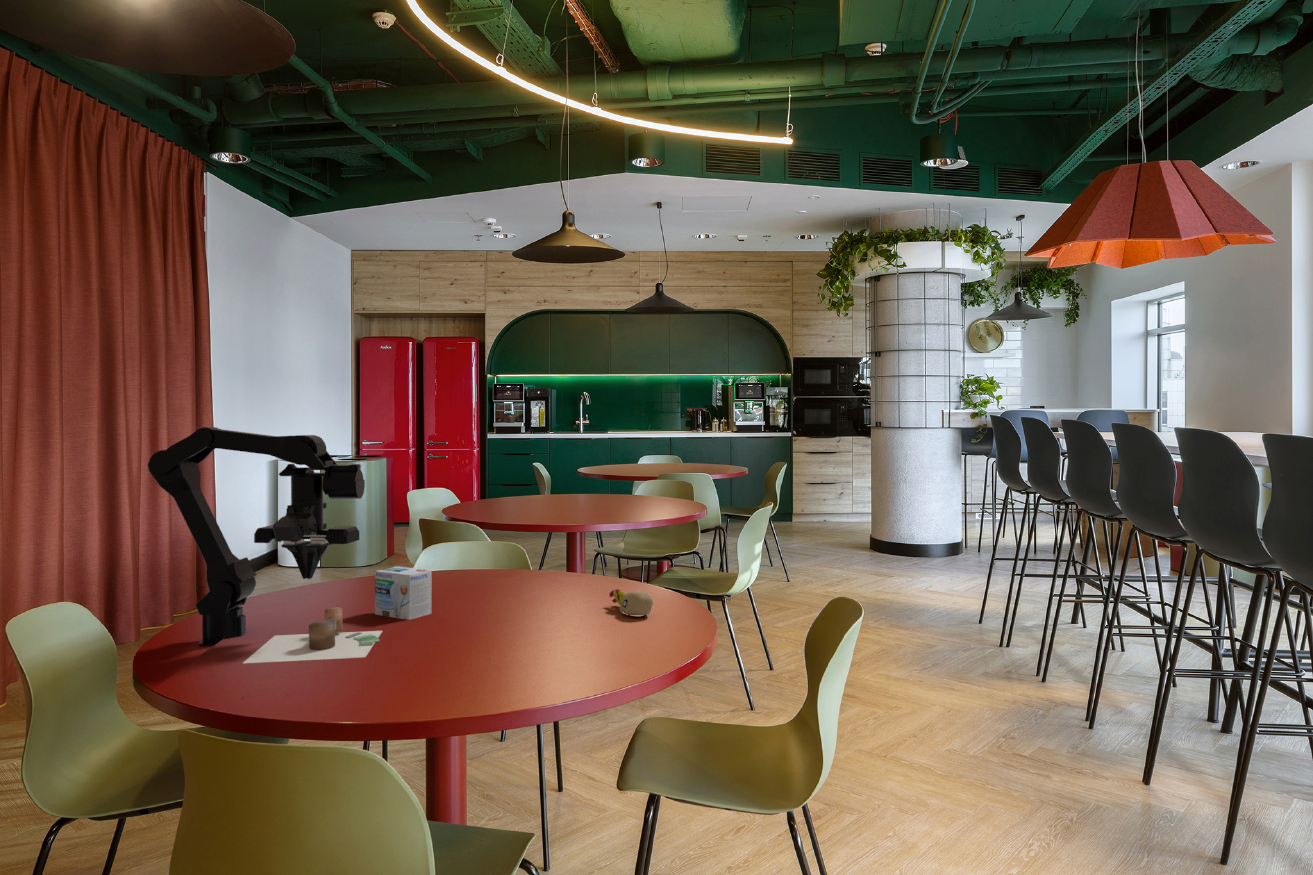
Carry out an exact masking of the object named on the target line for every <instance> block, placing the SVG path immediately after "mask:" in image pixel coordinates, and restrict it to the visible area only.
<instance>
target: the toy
mask: <svg viewBox="0 0 1313 875" xmlns="http://www.w3.org/2000/svg"><path fill="white" fill-rule="evenodd" d="M608 594H609V597H610V598H613V597H614V598H613V599H611V601H612V602H613V603H614V604H616V603H618V605H619V607H618V608H619V612H620V613H621V612H624V613H626V614H628V615H647V614H648V615H650V613H651V610H652V608H653V605H654V599H653V597H652V595H651V594H649V593H648V592H646V591H642V590H634V591H630V592H627V593H626V592H624V591H623V590H622V589H618V588H617V589H612V590H611V591H610V592H609V593H608ZM628 615H627V616H628ZM648 615H647V616H648Z"/></svg>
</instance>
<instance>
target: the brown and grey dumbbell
mask: <svg viewBox="0 0 1313 875" xmlns="http://www.w3.org/2000/svg"><path fill="white" fill-rule="evenodd" d="M342 632H343V607H338V606H337V607H336V606H335V607H328V608H327V607H326V608H325V609H324V620H323V621H317V622H312V623H310V624H309V625H308V634H309V648H310V649H326V648H331V647H333V646H335V633H342Z"/></svg>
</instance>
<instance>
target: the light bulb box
mask: <svg viewBox="0 0 1313 875" xmlns="http://www.w3.org/2000/svg"><path fill="white" fill-rule="evenodd" d="M432 574H433V573H432V570H431V569H425V568H416V567H406V566H392V567H388V568H383V569H378V570H375V571H374V581H375V582H374V615H377V616H380V617H381V616H383V617H388V618H394V619H401V620H407V621H409V620H413V619H417V618H420V617H424V616H429V615H431V614H432V585H433V584H432V583H433V582H432V581H433V580H432V578H433V577H432Z"/></svg>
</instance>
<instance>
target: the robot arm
mask: <svg viewBox="0 0 1313 875" xmlns="http://www.w3.org/2000/svg"><path fill="white" fill-rule="evenodd" d="M215 449H219V450H220V449H221V450H227V451H235V452H236V451H237V452H243V453H252V454H258V455H259V454H260V455H267V456H268V455H269V456H271V457H274V458H277V459H278V460H282V461H284V462H287V463H288V464H287V465H286V467H285V468H284V469H283V470H281V471H280V472H278V473H279V474H278V475H279V477H290V493H291V494H290V504H289V505H287V506H286V507H287V508H286V512H285V515H284V516H282V517H280V518H279V519H278V520H277V521H276V522H275V523H273V524H272V525H271V524H270V525H266V526H262V527H261V526H260V527H258V528H256V530H255V532H254V534H253V542H254V544H269V543H271V542H272V541H273V540H275V542H278V543H281V542H282V543H283V544H281V545H280V546H281V548H285V549H287V550H288V551H289V552H290V553H291V555H292V556H293V558H294V561H295V563H296V564H297V567H298V569H299V570H298V571H299V572H300V575H301V577H302V579H304V580H305V579H308V580H311V579H313V577H314V575H315V572H316V570H317V568H318V565H319V563H320V561H321V558H322V556H323V555H324V553H325V551H327V548H328V546H331V545H347V544H350V543H353V542H357V541H360V530H359V529H358V528H357V526H356V525H355V526H353V525H350V526H349V525H348V526H346V525H343V526H342V525H339V526H336V527H335V526H334V527H331V528H328V529H327V523H326V522H325V523H324V509H327V502H324V494H325V495H327V496H328V498H329V499H330V500H331V499H332V500H335V499H336V500H337V499H338V500H339V499H340V500H342V499H345V500H346V499H347V500H349V499H350V500H351V499H352V500H353V499H355V500H356V499H357V500H358V499H359V500H360V499H362V498H363V496H364V493H365V487H366V486H365V484H366V483H365V482H366V480H365V479H364V474H363V472H362V468H361V467H362V466H361V464H360V463H354V464H353V463H351V464H348V465H347V464H341V465H340V464H337V462H336V461H335V460H334V459H333V457H332V456H331V454H330V453H329V452H328V451H327V444H326V442H325V441H324V439H323V438H322V437H320V436H318V435H315V434H308V435H305V434H300V435H299V434H298V435H280V436H279V435H277V436H275V435H268V434H267V435H266V434H259V433H253V432H245V431H238V430H237V431H236V430H229V429H221V428H218V427H215V426H214V427H213V426H206V427H205V426H203V427H200V428H198V429H197V430H195V431H194V432H193V433H192V434H190V435H188V436H187V437H185V438H183V439H182V440H179V441H177V442H175V443H173V444H172V445H171V446H169V447H167V449H162V450H159V451H155V453H153V454H152V455H151V457H150V458H149V461H148V462H147V468H148V469H147V470H148V472H149V474H150V475H151V477H152V478H153V479H154V481H155V482H156V483H157V484H158V486H159V487H160V488H161V489H162V490H164V491H165V492H166V493H167V494H168V495H170V496H171V498H173V500H174V501H175V504H176V505H177V508H178V509H179V512H180V513H181V516H182V517H183V520H184V522H185V524H186V526H187V528H188V530H189V532H190V534H191V535H192V538H193V540H194V542H195V544H196V546H197V548H198V550H199V552H200V554H201V556H202V558H203V560H204V563H205V565H206V568H205V570H206V571H205V572H206V573H205V574H206V575H205V579H206V580H205V581H206V585H207V588H208V593H207V594H205V595H204V596H203V597H202V598H201V599H200V600H199V601H198V602H197V603H196V607H195V608H196V609H197V612H198V614H199V616H200V615H201V616H202V620H201V621H202V627H201V628H202V630H201V631H202V640H201V641H199V642H198V646H200V647H201V646H202V647H203V646H216V645H217V644H219V643H220V642H222V641H223V640H225V639H231V638H232V639H233V638H238V637H242V636H244V635H246V633H247V630H246V629H247V627H246V626H247V624H246V623H247V622H246V621H247V620H246V619H247V618H246V617H247V616H246V614H244V611H243V610H244V608H243V606H244V605H245V604H246V603H247V602H246V601H247V599H248V597H249V596H250V595H252V593H253V592H254V590H255V588H256V585H257V582H256V576H257V575H258V574H257V573H256V572H255V571H254V570H253V568H252V567H251V563H250V560H249V558H248V557H247V556H246V557H244V558H240V559H239V558H238V557H237V556H236V555H235V554H233V552H232V550H231V548H230V546H229V545H228V542H227V540H226V538H225V535H224V534H223V531H222V530H221V528H220V526H219V524H218V522H217V520H216V517H215V516H214V514H213V512H212V510H211V508H210V506H209V504H208V501H207V500H206V498H205V495H204V493H203V492H202V489H201V471H200V468H199V464H201V463H202V462H203V461H205V460H206V459H207V458H208V456H210V455H211V453H212V452H213V451H214V450H215ZM297 465H298V466H304V465H305V467H297ZM315 471H316V472H315ZM317 471H324V472H317Z"/></svg>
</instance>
